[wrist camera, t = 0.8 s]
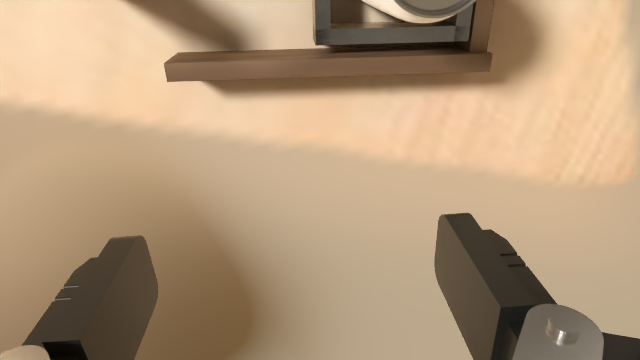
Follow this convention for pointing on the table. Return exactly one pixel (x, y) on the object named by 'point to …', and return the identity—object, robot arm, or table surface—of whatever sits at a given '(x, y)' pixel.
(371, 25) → the pull frame
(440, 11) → the can
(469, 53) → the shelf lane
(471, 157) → the table surface
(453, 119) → the table surface
